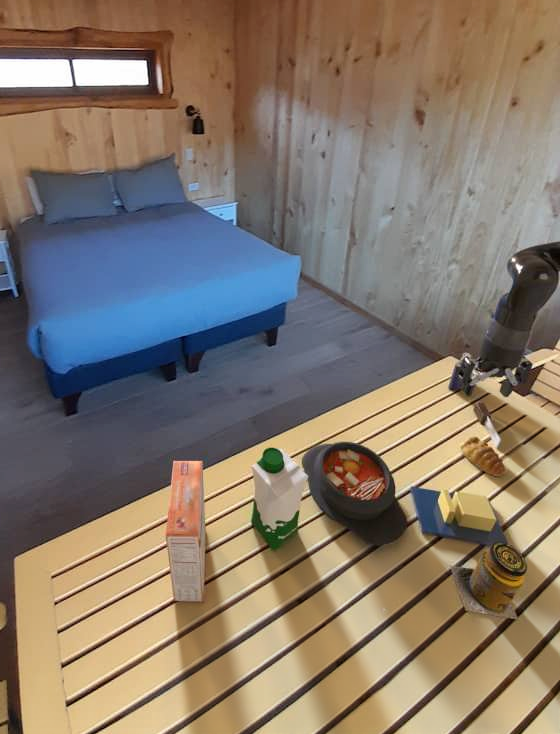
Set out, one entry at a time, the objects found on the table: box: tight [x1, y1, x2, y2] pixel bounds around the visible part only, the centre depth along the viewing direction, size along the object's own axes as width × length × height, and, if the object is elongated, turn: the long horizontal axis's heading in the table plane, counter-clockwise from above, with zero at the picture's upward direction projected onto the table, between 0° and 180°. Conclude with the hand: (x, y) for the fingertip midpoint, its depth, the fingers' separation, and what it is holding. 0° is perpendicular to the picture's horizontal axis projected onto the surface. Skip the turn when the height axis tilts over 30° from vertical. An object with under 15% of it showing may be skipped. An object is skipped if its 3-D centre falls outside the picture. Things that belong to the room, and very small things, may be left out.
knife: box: [473, 401, 502, 450], centre depth 106 cm, size 13×2×3 cm, turn 168°
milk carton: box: [250, 447, 308, 552], centre depth 80 cm, size 9×9×20 cm
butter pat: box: [438, 488, 456, 524], centre depth 85 cm, size 1×5×4 cm, turn 168°
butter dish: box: [409, 486, 509, 547], centre depth 85 cm, size 16×10×5 cm, turn 78°
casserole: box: [301, 441, 409, 546], centre depth 89 cm, size 25×19×8 cm
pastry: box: [459, 435, 506, 477], centre depth 97 cm, size 9×7×4 cm
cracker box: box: [165, 460, 206, 603], centre depth 75 cm, size 14×6×21 cm, turn 178°
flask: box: [447, 352, 473, 392], centre depth 120 cm, size 9×3×11 cm, turn 133°
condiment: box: [449, 542, 528, 620], centre depth 71 cm, size 7×8×12 cm
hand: (485, 394), depth 95 cm, fingers open, 8 cm apart
